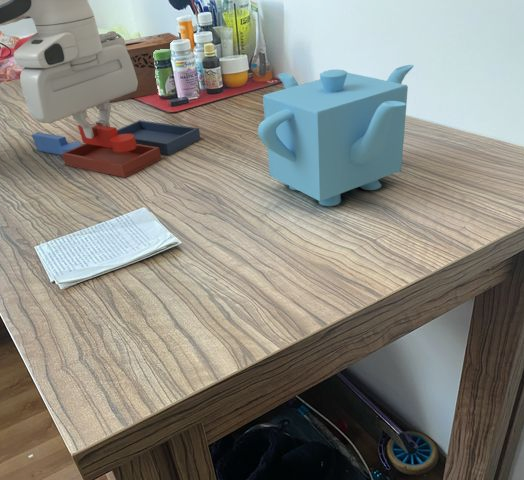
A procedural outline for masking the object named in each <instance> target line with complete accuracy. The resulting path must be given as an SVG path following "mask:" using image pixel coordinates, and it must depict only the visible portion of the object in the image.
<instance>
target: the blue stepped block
mask: <svg viewBox="0 0 524 480" xmlns="http://www.w3.org/2000/svg"><path fill="white" fill-rule="evenodd" d="M31 136H32V139H33V142H34V144H35V147H36V150H37V151H38V152H44V153H48V154H54V155H59V156H62V153H64V152H67V151H69V150H71V149H74V148H76V147H78V146H81V145H83V144H82V143H81V142H79V141H73V142H68V141H67V138H66V136H62V135H57V134H51V133H46V132H45V133H44V132H39V131H38V132H35V133H32V134H31Z"/></svg>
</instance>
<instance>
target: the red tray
mask: <svg viewBox="0 0 524 480" xmlns="http://www.w3.org/2000/svg"><path fill="white" fill-rule="evenodd" d="M61 157H62V159H63V163H64V165H65V166H69V167H74V168H78V169H83V170H88V171H92V172H96V173H97V172H98V173H101V174H106V175H111V176H115V177H120V178H128V177H129V176H131V175H133V174H135V173H137V172H139V171H141V170H143V169H145V168H147V167H149V166H151V165H153V164H155V163H157V162H159V161H160V160H162V154H160V149H159V147H153V146H147V145H141V144H137V147H136V148H135V149H134V150H131V151H128V152H123V153H117V152H114V151H113V148H108V147H103V146H97V145H91V144H86V143H83V144H82V145H81V146H78V147H76V148H74V149H71V150H69V151H67V152H64V153H62V155H61Z"/></svg>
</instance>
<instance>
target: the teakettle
mask: <svg viewBox="0 0 524 480" xmlns="http://www.w3.org/2000/svg"><path fill="white" fill-rule="evenodd" d="M414 67H415V66H414V64H406V65H403V66H399V67H397V68H395V69H394V70H393V71H391V73H390V75H389V76H388V78H387V80H384V79H380V78H377V77H376V78H375V77H371V76H366V75H361V74H357V73H351V72H348V71H346V70H344V69H328V70H325V71H323V72H320V74H319V79H316V80H312V81H309V82H306V83H305V82H304V83H301V84H299V83H298V81H297V79H296V78H295V77H294V76H293V75H291V74H289V73H283V72H282V73H278V74H277V78H278V79H279V80H280V82H281V83H282V85H283V89H280V90H275V91H272V92H269V93H266V94H263V96H262V103H263V104H262V105H263V114H264V115H263V116H264V119H263V120H262V121H261V122H260V123H259V125H258V127H257V135H258V137H259V139H260V141H261V142H262V144H263V145H264V146H265V147H266V148H267V159H268V170H269V177H271V178H273V179H275V180H277V181H278V182H281V183H283V184H285V185H287V186H288V188H289V189H290V190H292V191H299V192H301V193H303V194H304V195H307V196H308V197H311V198H312V199H314V200H317V201H318V204H319V205H321V206H323V207H333V206H337V205H339V204H340V203H341V202H342V198H341V197H342V196H341V194H344V193H346V192H348V191H351V190H354V189H356V188H360V189H361V190H365V191H375V190H378V189H380V188H381V187H382V183H380V181H379V180H380V179H383V178H385V177H388V176H391V175H394V174H396V173H399V172H402V167H403V155H404V141H405V129H406V128H405V127H406V117H407V115H406V114H407V104H408V103H407V102H408V101H407V100H408V91H409V90H408V89H409V87H408V85H407V84H403V80H405V77H406V76H407V75H408V74H409V72H410V71H412V69H413V68H414Z"/></svg>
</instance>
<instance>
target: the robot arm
mask: <svg viewBox="0 0 524 480" xmlns="http://www.w3.org/2000/svg"><path fill="white" fill-rule="evenodd" d="M28 19H32V21H33V24H34V27H35V30H36V32H35V33H34V35H32V36H31V37H30V38H29V39H28V40H27V41H26V42H24V43H23V44H22V45H20V46H19V47H18V48H17V49H15V50H14V52H13V59H14V62H15V64H16V65H17V66H18V67H20V68H23V69H22V70H21V72H20V75H19V81H20V86H21V90H22V93H23V97H24V100H25V104H26V106H27V109H28V111H29V114H30V116H31V117H32V118H33V119H34V120H35V121H36V122H38V123H41V124H53V123H56V122H58V121H61V120H64V119H66V118H68V117H71V116H72V119H73V120H74V121H75V122H76V123H77V124H78V125H80V126H81V127H82V128H83V131H84V134H85V136H86V138H90V139H92V138H94V137H96V136H98V132H97V128H96V125H101V126H108V127H111V124H110V117H111V112H112V111H111V110H112V107H111V102H109V101H111V100H113V99H116V98H118V97H121V96H124V95H126V94H129V93H132V92H134V91H136V90H137V85H138V81H137V77H136V73H135V70H134V67H133V64H132V61H131V59H130V56H129V54H128V52H127V48H126V44H125V41H124V40H125V39H124V37H123V36H122V35H121V34H119V33H117V32H116V31H114V30H110V31H107V32H106V33H99V29H98V25H97V21H96V17H95V14H94V10H93V9H92V7H91V5H90V3H89V1H88V0H0V27H1V26H6V25H11V24H14V23H17V22H19V21H22V20H28ZM95 107H96V109H97V110H99V111H98V112H99V113H98V120H96V121H95V124H94V125H90V124H91V123H90V122H89V121H88V119H86V118H88V112H87V110H89V109H92V108H95Z"/></svg>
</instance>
